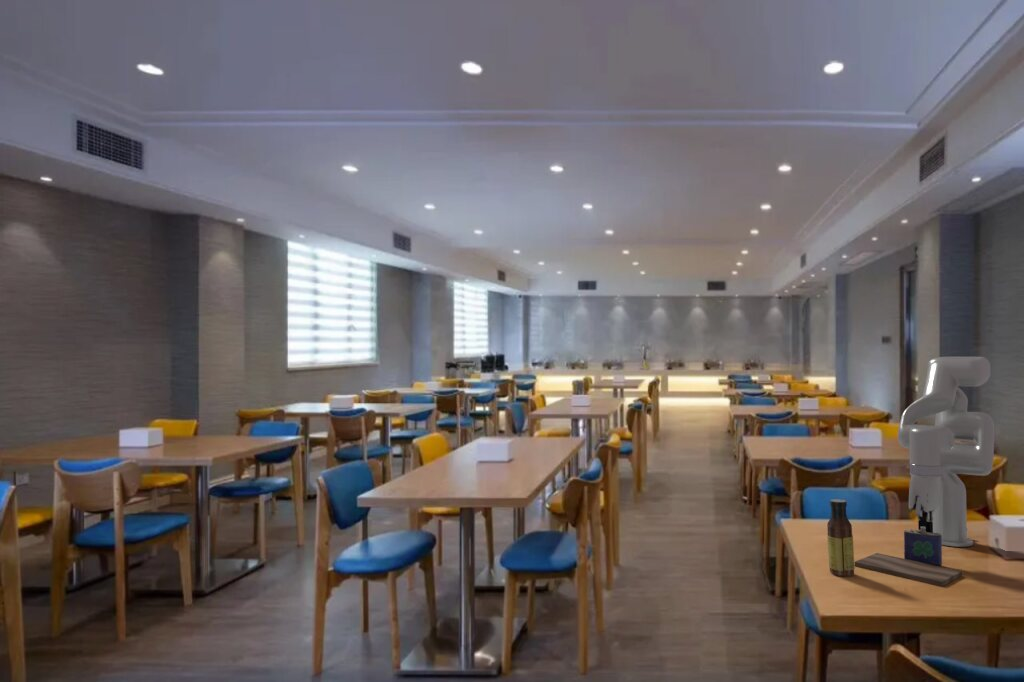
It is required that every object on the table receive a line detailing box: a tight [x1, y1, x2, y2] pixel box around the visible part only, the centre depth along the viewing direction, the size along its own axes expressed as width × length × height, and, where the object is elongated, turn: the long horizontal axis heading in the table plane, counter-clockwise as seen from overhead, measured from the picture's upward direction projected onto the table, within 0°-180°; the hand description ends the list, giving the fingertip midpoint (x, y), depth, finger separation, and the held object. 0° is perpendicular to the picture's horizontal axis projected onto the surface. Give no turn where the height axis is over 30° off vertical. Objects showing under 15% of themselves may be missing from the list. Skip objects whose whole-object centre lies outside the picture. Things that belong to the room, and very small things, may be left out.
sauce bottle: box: [827, 498, 856, 578], centre depth 184 cm, size 6×6×20 cm
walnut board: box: [854, 552, 963, 587], centre depth 186 cm, size 14×22×1 cm, turn 38°
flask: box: [903, 526, 943, 567], centre depth 192 cm, size 9×3×11 cm, turn 64°
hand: (925, 534), depth 194 cm, fingers closed
